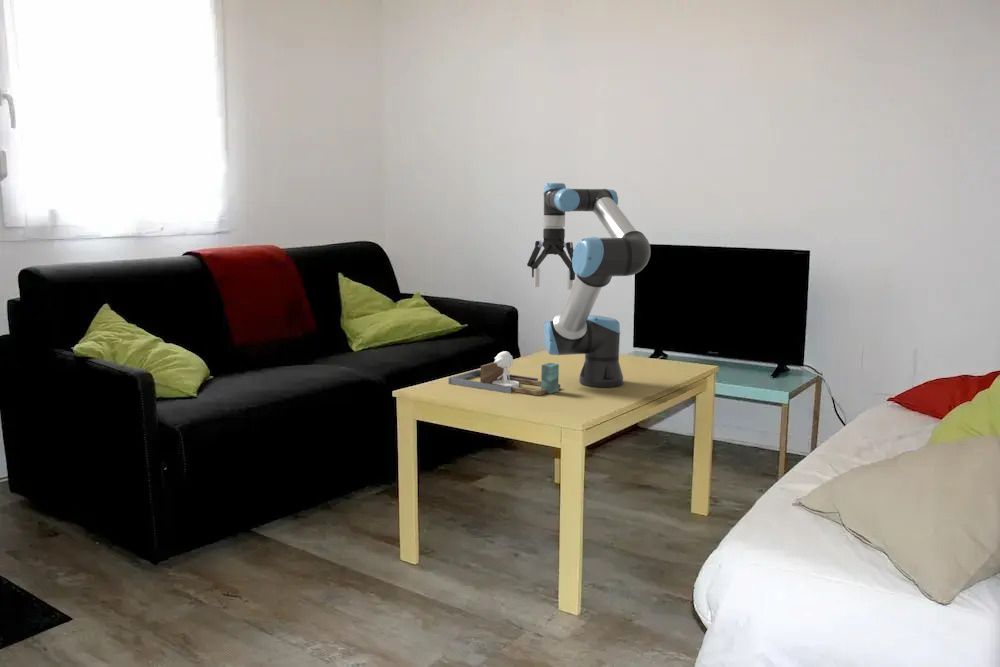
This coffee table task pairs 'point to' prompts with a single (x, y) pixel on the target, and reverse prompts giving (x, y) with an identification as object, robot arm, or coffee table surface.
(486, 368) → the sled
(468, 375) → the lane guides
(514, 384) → the figurine
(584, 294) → the robot arm
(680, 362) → the coffee table surface
